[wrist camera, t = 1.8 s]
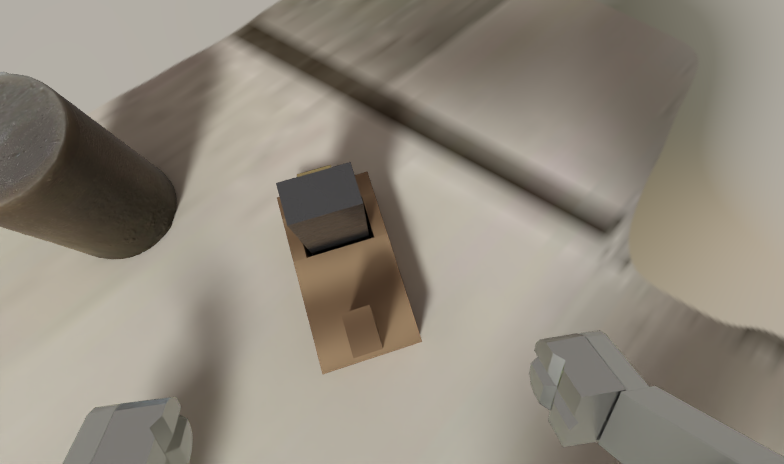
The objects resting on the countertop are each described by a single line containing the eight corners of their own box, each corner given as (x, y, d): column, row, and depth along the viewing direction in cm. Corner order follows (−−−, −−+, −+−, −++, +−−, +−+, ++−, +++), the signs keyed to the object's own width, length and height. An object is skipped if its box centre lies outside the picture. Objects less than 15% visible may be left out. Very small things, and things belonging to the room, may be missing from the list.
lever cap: (370, 245, 38) (363, 203, 26) (318, 260, 37) (287, 225, 26) (359, 207, 39) (346, 151, 27) (307, 222, 38) (273, 172, 27)
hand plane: (418, 341, 36) (428, 342, 27) (329, 370, 35) (310, 381, 26) (369, 188, 39) (364, 145, 30) (287, 211, 38) (258, 174, 30)
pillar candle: (187, 238, 38) (63, 172, 23) (80, 275, 37) (-119, 229, 22) (165, 148, 40) (40, 38, 26) (64, 180, 39) (-126, 84, 25)
